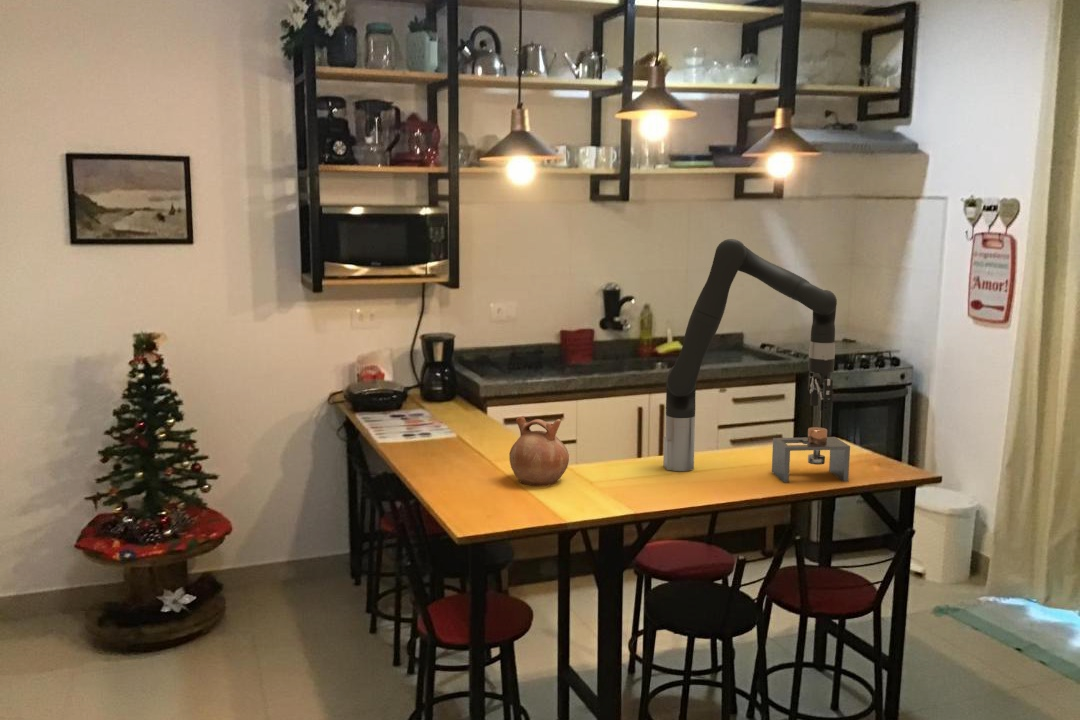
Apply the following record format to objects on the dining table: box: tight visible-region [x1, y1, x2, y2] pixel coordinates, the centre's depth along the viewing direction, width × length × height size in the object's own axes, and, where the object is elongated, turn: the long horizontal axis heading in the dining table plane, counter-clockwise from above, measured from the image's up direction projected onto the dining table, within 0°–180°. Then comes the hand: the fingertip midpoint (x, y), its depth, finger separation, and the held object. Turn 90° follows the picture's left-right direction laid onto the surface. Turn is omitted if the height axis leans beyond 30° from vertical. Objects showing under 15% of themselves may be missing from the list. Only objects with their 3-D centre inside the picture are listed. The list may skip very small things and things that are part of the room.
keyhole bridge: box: [771, 436, 851, 484], centre depth 297 cm, size 20×12×11 cm, turn 94°
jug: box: [508, 415, 570, 487], centre depth 293 cm, size 18×18×20 cm
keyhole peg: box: [807, 426, 828, 466], centre depth 297 cm, size 6×6×10 cm
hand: (818, 408), depth 295 cm, fingers open, 8 cm apart
